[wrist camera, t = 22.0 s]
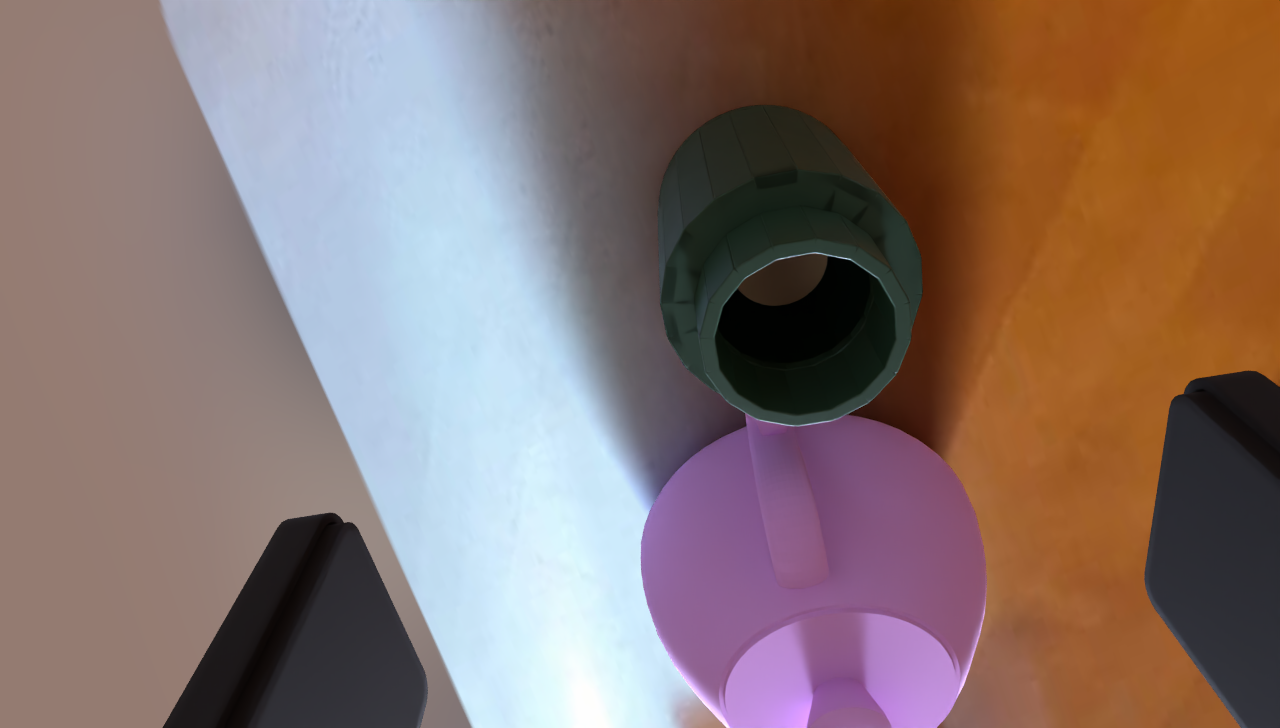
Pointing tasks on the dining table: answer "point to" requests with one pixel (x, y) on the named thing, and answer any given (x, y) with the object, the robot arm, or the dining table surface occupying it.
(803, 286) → the stopper
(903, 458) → the teapot
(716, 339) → the green bottle
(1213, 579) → the robot arm
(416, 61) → the dining table surface
